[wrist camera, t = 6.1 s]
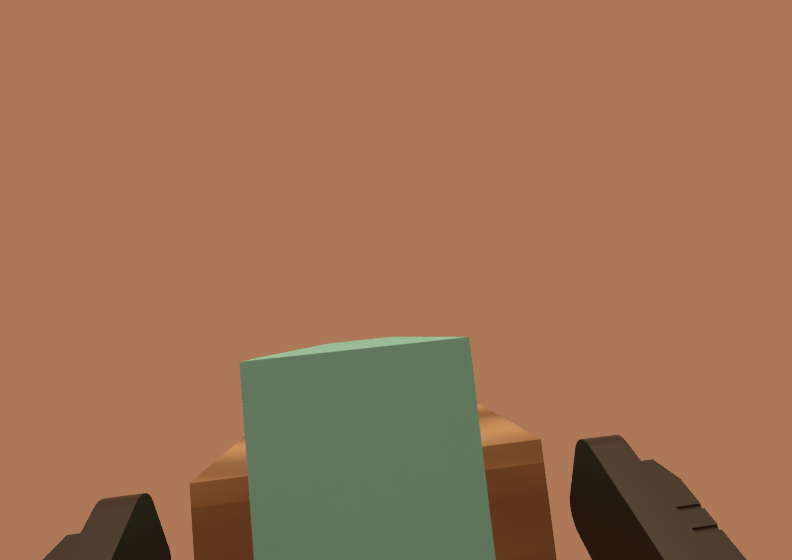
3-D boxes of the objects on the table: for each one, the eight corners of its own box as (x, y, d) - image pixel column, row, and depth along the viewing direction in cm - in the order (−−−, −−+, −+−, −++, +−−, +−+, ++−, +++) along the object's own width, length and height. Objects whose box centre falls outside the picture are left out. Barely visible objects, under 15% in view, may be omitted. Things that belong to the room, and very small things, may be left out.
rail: (333, 409, 31) (326, 343, 32) (398, 402, 31) (391, 336, 32) (257, 609, 8) (239, 361, 9) (497, 573, 9) (468, 337, 9)
